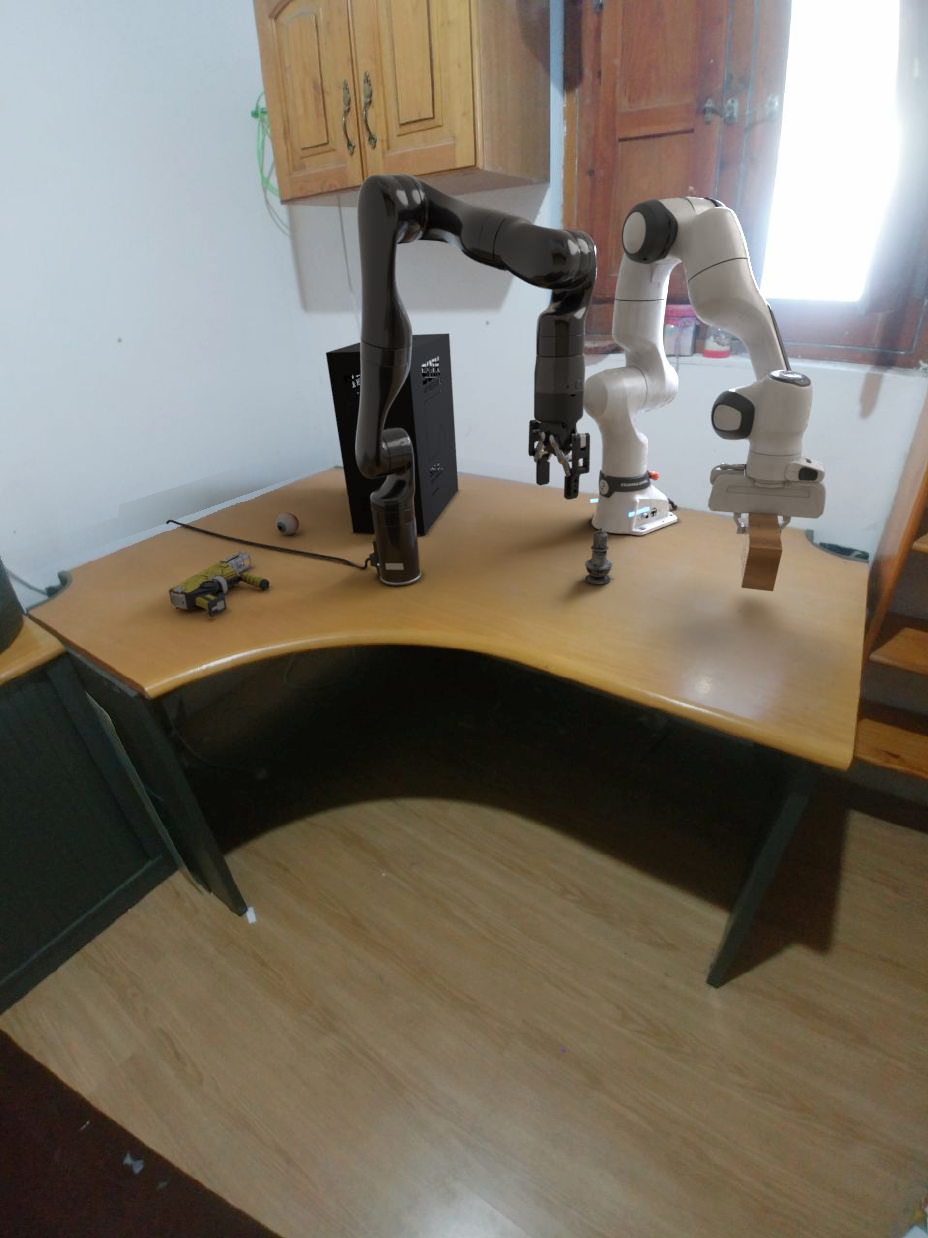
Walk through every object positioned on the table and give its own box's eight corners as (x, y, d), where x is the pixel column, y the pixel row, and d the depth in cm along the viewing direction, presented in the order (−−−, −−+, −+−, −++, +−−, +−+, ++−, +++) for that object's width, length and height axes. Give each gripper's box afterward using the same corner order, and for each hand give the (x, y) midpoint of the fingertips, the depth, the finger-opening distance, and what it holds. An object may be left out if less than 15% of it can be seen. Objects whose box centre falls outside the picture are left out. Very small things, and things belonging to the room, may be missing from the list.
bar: (741, 539, 125) (748, 503, 121) (768, 542, 123) (776, 505, 119) (741, 587, 106) (749, 546, 102) (773, 591, 105) (782, 549, 101)
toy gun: (290, 560, 142) (237, 549, 146) (223, 603, 122) (163, 589, 126) (292, 578, 144) (239, 566, 148) (226, 623, 124) (167, 609, 128)
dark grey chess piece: (611, 585, 129) (615, 533, 123) (583, 584, 130) (586, 532, 124) (611, 573, 134) (615, 522, 128) (584, 572, 135) (587, 521, 129)
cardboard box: (424, 535, 159) (408, 350, 137) (353, 532, 164) (325, 352, 141) (458, 489, 191) (449, 333, 168) (397, 488, 195) (380, 335, 173)
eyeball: (273, 537, 164) (268, 516, 161) (287, 528, 169) (282, 508, 166) (291, 539, 161) (286, 518, 158) (305, 530, 166) (301, 510, 163)
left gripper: (514, 383, 95) (515, 483, 103) (564, 396, 84) (560, 508, 92) (555, 378, 98) (552, 476, 106) (608, 389, 86) (601, 499, 94)
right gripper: (711, 467, 114) (701, 535, 121) (835, 473, 107) (816, 545, 113) (712, 458, 119) (703, 524, 126) (831, 463, 112) (813, 533, 118)
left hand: (556, 491), depth 99 cm, fingers open, 8 cm apart
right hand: (757, 534), depth 119 cm, fingers closed on bar, 5 cm apart
